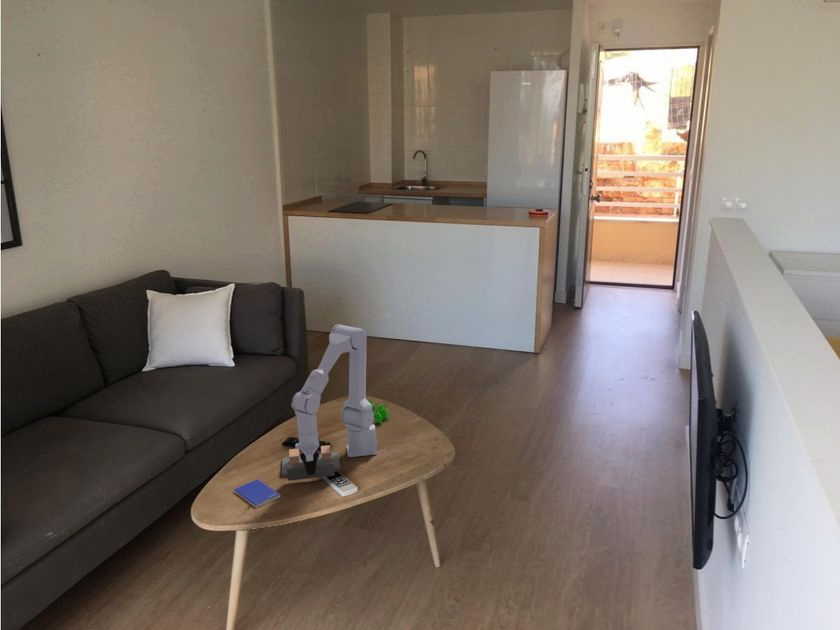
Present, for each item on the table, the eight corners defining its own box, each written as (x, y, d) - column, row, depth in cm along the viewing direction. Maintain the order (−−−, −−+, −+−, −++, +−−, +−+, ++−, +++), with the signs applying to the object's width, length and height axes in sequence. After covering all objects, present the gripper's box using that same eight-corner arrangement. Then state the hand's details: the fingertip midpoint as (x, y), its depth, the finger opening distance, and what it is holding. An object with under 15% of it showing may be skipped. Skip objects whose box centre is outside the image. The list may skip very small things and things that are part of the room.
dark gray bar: (334, 470, 205) (333, 459, 204) (334, 475, 202) (333, 463, 201) (288, 475, 202) (287, 464, 201) (288, 480, 200) (286, 468, 199)
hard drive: (280, 493, 194) (258, 478, 203) (255, 504, 189) (234, 488, 197) (280, 498, 195) (258, 483, 203) (256, 509, 189) (234, 493, 198)
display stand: (338, 454, 218) (337, 440, 217) (340, 469, 209) (339, 455, 207) (282, 460, 215) (281, 446, 214) (282, 476, 206) (280, 461, 204)
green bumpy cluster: (341, 418, 246) (340, 401, 244) (374, 407, 255) (373, 390, 253) (365, 432, 235) (364, 414, 233) (398, 419, 244) (397, 402, 242)
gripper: (294, 421, 204) (297, 460, 208) (294, 443, 190) (297, 484, 194) (317, 419, 205) (320, 458, 209) (318, 440, 192) (322, 482, 195)
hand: (311, 471), depth 202 cm, fingers closed on dark gray bar, 3 cm apart
